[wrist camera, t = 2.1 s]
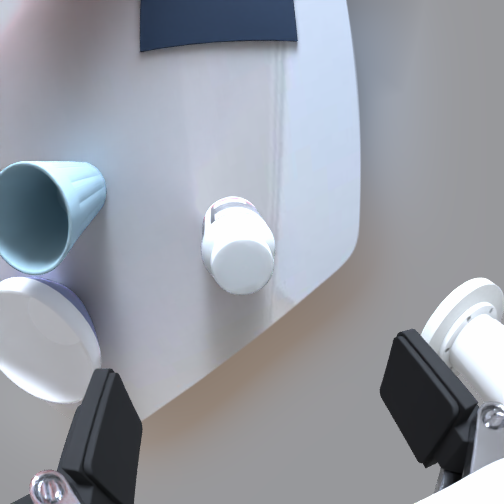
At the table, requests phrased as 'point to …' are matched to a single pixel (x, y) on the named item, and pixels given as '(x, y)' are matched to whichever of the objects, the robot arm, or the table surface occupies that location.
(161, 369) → the table surface
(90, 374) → the bowl
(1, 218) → the cup
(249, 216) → the pill bottle
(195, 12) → the placemat
